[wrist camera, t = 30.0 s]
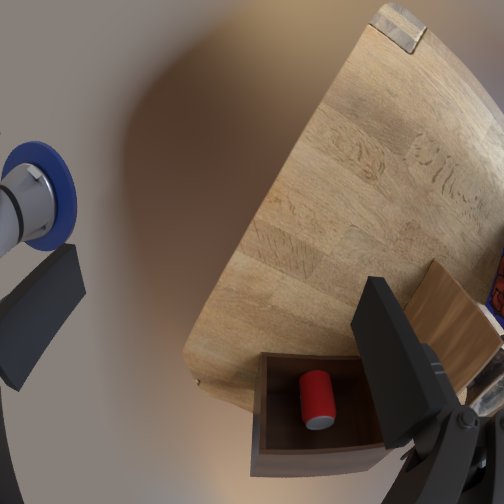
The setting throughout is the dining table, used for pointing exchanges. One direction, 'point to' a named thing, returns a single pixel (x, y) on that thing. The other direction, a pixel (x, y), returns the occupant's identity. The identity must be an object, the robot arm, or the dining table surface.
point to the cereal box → (497, 294)
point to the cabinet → (294, 429)
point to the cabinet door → (452, 326)
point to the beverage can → (317, 400)
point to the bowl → (488, 386)
